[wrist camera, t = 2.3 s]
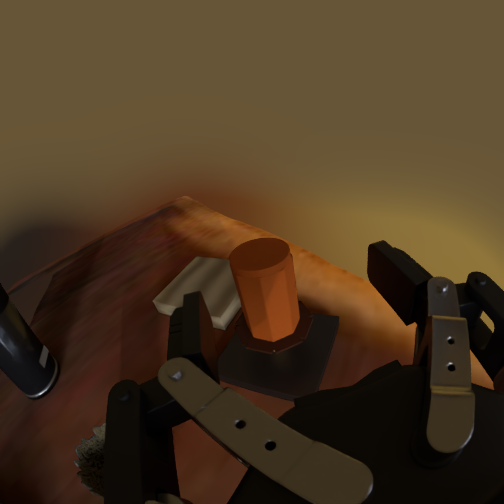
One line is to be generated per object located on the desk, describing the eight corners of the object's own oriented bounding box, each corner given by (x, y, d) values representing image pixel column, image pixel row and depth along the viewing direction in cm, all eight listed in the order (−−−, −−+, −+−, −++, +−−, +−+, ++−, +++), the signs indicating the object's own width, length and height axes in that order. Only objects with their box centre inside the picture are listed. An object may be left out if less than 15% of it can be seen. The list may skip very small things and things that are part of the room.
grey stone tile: (158, 312, 42) (152, 300, 41) (200, 267, 52) (196, 256, 50) (225, 330, 36) (220, 317, 35) (262, 274, 46) (259, 262, 44)
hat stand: (213, 378, 29) (169, 291, 23) (255, 311, 38) (233, 226, 32) (312, 405, 24) (307, 317, 17) (338, 324, 33) (338, 230, 26)
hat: (224, 343, 27) (197, 274, 23) (255, 295, 33) (239, 229, 29) (297, 360, 24) (287, 286, 19) (319, 303, 30) (314, 232, 25)
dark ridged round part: (155, 441, 22) (115, 407, 18) (201, 483, 18) (163, 463, 14) (111, 476, 18) (62, 449, 14) (151, 524, 13) (99, 512, 9)
